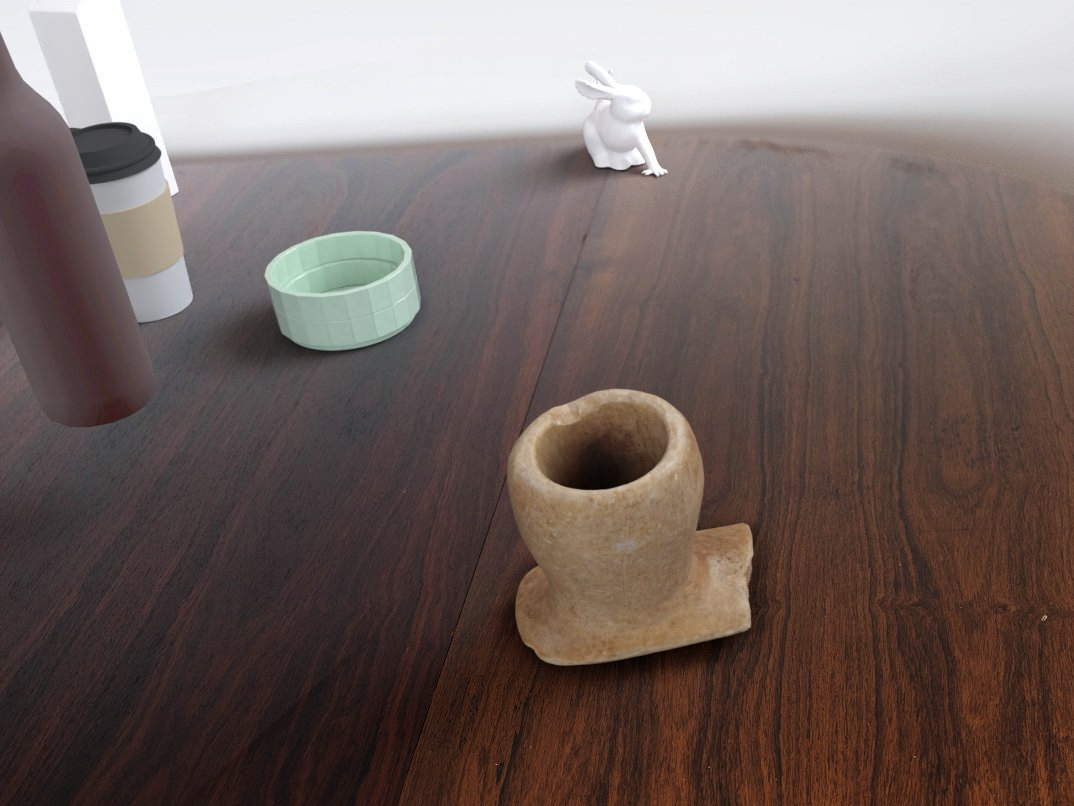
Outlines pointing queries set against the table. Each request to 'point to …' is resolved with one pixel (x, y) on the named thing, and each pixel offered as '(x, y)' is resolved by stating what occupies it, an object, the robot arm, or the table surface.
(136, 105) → the milk
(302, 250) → the bowl
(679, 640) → the stone cup
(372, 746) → the table surface
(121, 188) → the coffee cup
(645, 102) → the rabbit figurine
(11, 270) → the beer bottle
